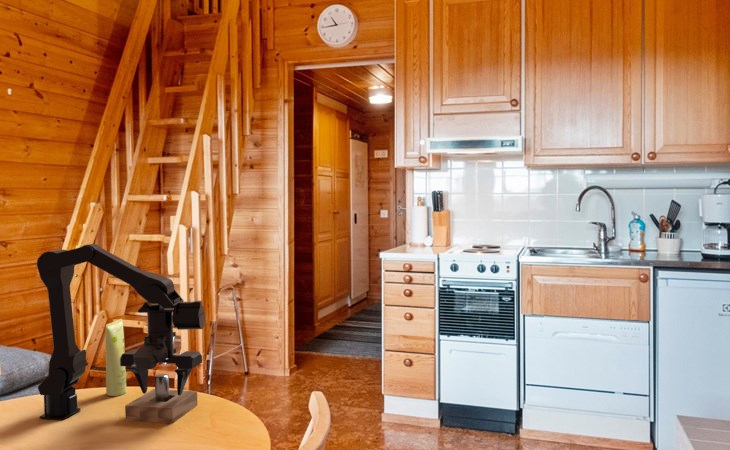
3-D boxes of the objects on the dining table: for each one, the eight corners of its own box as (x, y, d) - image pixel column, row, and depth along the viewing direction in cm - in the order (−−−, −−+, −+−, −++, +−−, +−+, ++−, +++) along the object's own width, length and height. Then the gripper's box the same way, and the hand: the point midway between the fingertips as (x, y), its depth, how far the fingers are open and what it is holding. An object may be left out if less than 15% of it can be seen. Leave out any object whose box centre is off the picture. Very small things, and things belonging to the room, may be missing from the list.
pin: (153, 410, 137) (152, 377, 137) (160, 405, 140) (159, 373, 140) (165, 411, 137) (164, 378, 136) (172, 406, 140) (171, 374, 140)
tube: (128, 394, 152) (126, 321, 151) (108, 398, 149) (105, 324, 149) (124, 389, 157) (122, 318, 156) (104, 392, 154) (102, 320, 153)
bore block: (125, 420, 134) (125, 405, 134) (153, 402, 146) (153, 389, 146) (172, 423, 132) (172, 408, 132) (197, 405, 143) (197, 391, 143)
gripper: (104, 336, 132) (106, 403, 132) (179, 338, 128) (181, 407, 129) (132, 326, 143) (134, 388, 143) (202, 328, 139) (203, 391, 140)
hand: (162, 394), depth 139 cm, fingers open, 9 cm apart
